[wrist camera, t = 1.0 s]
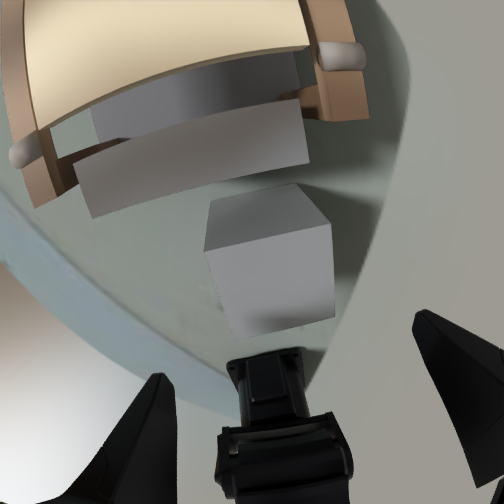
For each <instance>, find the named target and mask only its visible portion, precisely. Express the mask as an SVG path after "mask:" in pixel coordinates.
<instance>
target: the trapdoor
mask: <svg viewBox="0 0 504 504" xmlns="http://www.w3.org/2000/svg"><path fill="white" fill-rule="evenodd" d="M24 23H25V47H26V59H27V68H28V76H29V83H30V90H31V96H32V101H33V106H34V111H35V116H36V121H37V125H38V129H39V130H42V129H46V128H51V127H54V126H55V125H57V124H59V123H61V122H62V121H64V120H66V119H68V118H70V117H71V116H73V115H75V114H77V113H79V112H81V111H83V110H85V109H87V108H89V107H91V106H93V105H95V104H97V103H100V102H102V101H104V100H106V99H108V98H111V97H113V96H115V95H118V94H120V93H123V92H125V91H128V90H130V89H133V88H135V87H138V86H141V85H143V84H146V83H149V82H152V81H155V80H158V79H161V78H164V77H167V76H170V75H173V74H177V73H180V72H183V71H187V70H191V69H194V68H198V67H202V66H206V65H210V64H215V63H219V62H224V61H229V60H234V59H239V58H245V57H251V56H257V55H264V54H272V53H281V52H291V51H302V50H303V49H305V48H306V47H308V46H309V45H310V43H309V39H308V35H307V31H306V28H305V24H304V20H303V17H302V13H301V9H300V6H299V3H298V0H25V13H24ZM306 163H310V162H309V155H308V149H307V142H306V136H305V130H304V125H303V119H302V113H301V108H300V103H299V99H292V100H285V101H278V102H271V103H265V104H260V105H254V106H249V107H244V108H239V109H234V110H230V111H225V112H221V113H217V114H212V115H208V116H204V117H201V118H197V119H193V120H189V121H186V122H182V123H179V124H176V125H172V126H169V127H166V128H163V129H159V130H156V131H153V132H150V133H147V134H145V135H142V136H139V137H136V138H133V139H131V140H128V141H125V142H123V143H120V144H117V145H115V146H112V147H110V148H108V149H105V150H103V151H100V152H98V153H96V154H93V155H91V156H89V157H87V158H84V159H82V160H80V161H78V162H76V163H74V164H73V166H74V169H75V173H76V176H77V179H78V181H79V184H80V187H81V190H82V193H83V196H84V198H85V201H86V204H87V206H88V209H89V211H90V214H91V216H92V219H94V218H97V217H99V216H102V215H105V214H108V213H111V212H114V211H117V210H120V209H123V208H127V207H130V206H133V205H136V204H139V203H143V202H146V201H149V200H153V199H156V198H159V197H163V196H166V195H170V194H173V193H177V192H181V191H184V190H188V189H192V188H196V187H199V186H203V185H207V184H211V183H215V182H220V181H224V180H228V179H232V178H237V177H241V176H245V175H250V174H255V173H259V172H264V171H269V170H274V169H279V168H284V167H289V166H295V165H300V164H306Z"/></svg>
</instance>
